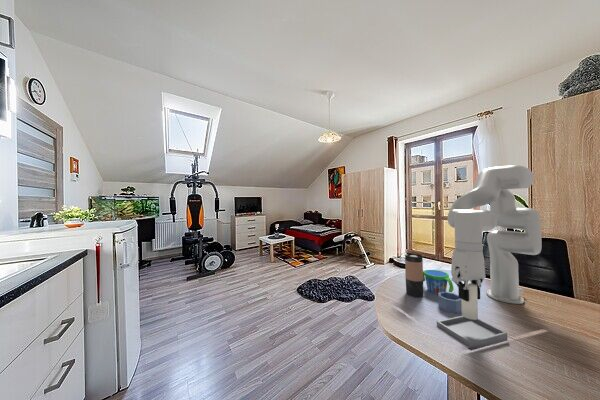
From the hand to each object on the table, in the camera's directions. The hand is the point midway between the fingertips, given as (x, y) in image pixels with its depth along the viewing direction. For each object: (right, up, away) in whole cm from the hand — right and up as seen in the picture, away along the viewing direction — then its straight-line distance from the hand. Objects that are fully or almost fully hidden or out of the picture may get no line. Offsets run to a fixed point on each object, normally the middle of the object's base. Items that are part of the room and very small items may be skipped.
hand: (469, 298), depth 73 cm
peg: (0, -6, 0) cm, 6 cm away
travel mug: (-3, -13, +29) cm, 32 cm away
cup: (+5, -13, +16) cm, 21 cm away
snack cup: (+9, -13, +32) cm, 36 cm away
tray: (0, -13, 0) cm, 13 cm away
